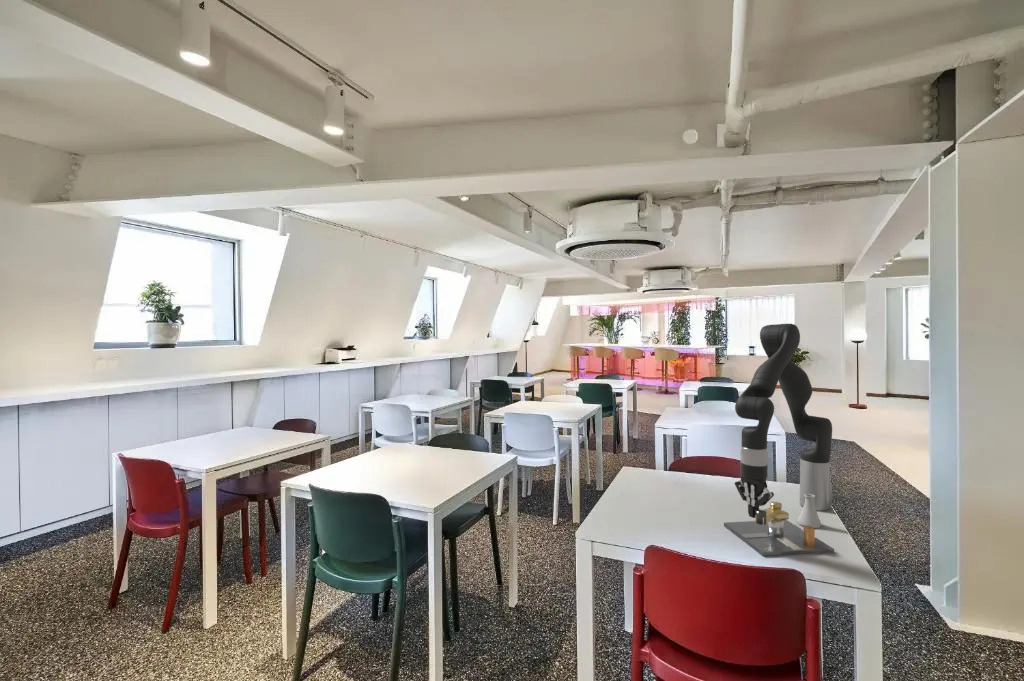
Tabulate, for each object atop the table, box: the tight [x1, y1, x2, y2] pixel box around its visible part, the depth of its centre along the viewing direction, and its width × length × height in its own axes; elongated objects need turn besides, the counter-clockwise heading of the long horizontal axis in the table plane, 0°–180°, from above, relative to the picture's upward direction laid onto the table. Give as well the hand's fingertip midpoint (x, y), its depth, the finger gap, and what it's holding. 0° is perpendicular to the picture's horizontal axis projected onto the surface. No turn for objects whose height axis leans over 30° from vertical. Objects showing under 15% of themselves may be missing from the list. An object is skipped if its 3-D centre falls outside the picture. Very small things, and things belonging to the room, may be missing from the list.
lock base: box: [723, 519, 835, 558], centre depth 156 cm, size 22×22×7 cm
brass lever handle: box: [754, 501, 790, 525], centre depth 153 cm, size 15×7×4 cm, turn 130°
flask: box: [796, 494, 823, 529], centre depth 167 cm, size 7×7×10 cm
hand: (753, 516), depth 153 cm, fingers closed
